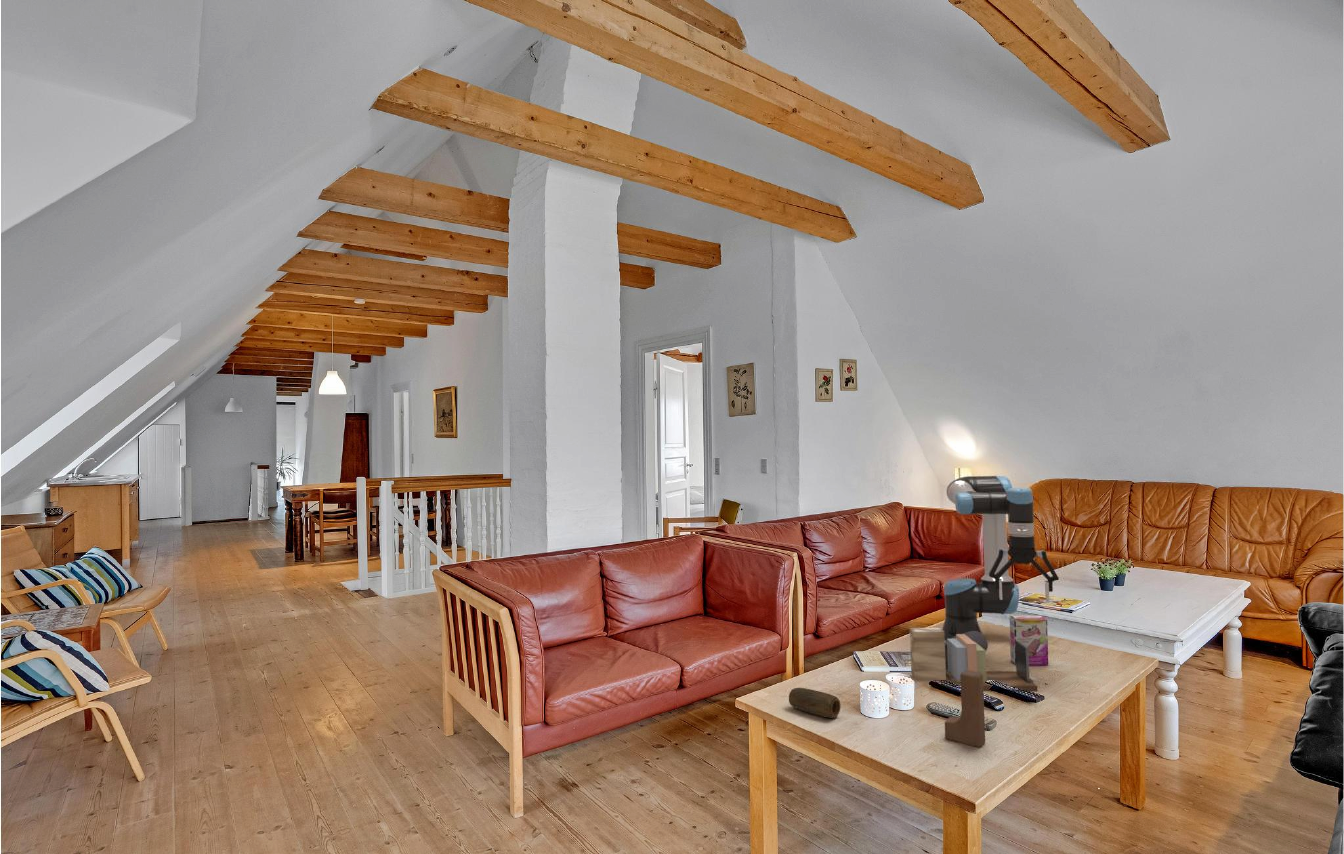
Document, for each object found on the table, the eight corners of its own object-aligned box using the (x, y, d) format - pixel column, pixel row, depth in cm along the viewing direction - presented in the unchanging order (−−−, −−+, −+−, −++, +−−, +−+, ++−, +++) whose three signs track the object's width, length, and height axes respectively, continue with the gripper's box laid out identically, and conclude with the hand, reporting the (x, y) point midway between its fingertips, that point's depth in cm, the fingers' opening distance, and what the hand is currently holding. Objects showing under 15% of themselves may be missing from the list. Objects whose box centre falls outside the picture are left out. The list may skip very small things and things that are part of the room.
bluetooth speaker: (961, 675, 225) (959, 645, 225) (934, 668, 232) (933, 639, 232) (990, 659, 240) (989, 631, 240) (964, 654, 247) (963, 627, 247)
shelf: (944, 675, 225) (944, 670, 225) (1018, 675, 223) (1018, 671, 223) (958, 689, 211) (957, 685, 211) (1037, 690, 209) (1037, 686, 209)
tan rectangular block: (911, 675, 225) (909, 627, 226) (941, 675, 224) (940, 627, 225) (914, 680, 221) (913, 631, 221) (946, 680, 220) (944, 631, 220)
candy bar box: (1016, 665, 233) (1014, 618, 233) (1010, 661, 238) (1008, 614, 238) (1049, 666, 232) (1047, 618, 232) (1043, 661, 237) (1041, 614, 237)
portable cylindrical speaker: (843, 715, 193) (843, 692, 194) (832, 723, 188) (831, 699, 188) (798, 703, 203) (797, 681, 204) (786, 710, 198) (785, 687, 198)
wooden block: (944, 738, 176) (942, 670, 177) (950, 733, 180) (947, 665, 180) (980, 748, 171) (978, 677, 171) (985, 741, 174) (983, 672, 175)
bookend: (1016, 674, 220) (1015, 640, 220) (1022, 674, 220) (1021, 640, 220) (1027, 682, 212) (1025, 647, 212) (1033, 682, 212) (1032, 647, 212)
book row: (948, 671, 224) (946, 634, 224) (975, 671, 223) (974, 634, 223) (958, 682, 213) (957, 643, 213) (988, 683, 212) (986, 643, 212)
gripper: (980, 535, 221) (982, 600, 220) (1066, 537, 211) (1069, 605, 210) (979, 532, 228) (981, 595, 227) (1063, 534, 218) (1065, 600, 217)
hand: (1024, 600), depth 219 cm, fingers open, 13 cm apart
